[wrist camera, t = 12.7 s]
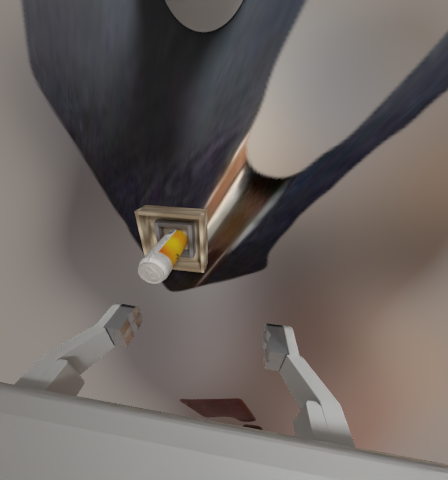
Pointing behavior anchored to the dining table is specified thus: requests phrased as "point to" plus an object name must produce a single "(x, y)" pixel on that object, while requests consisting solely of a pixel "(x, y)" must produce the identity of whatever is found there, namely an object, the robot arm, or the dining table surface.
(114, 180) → the dining table surface
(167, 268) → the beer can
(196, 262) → the crate
